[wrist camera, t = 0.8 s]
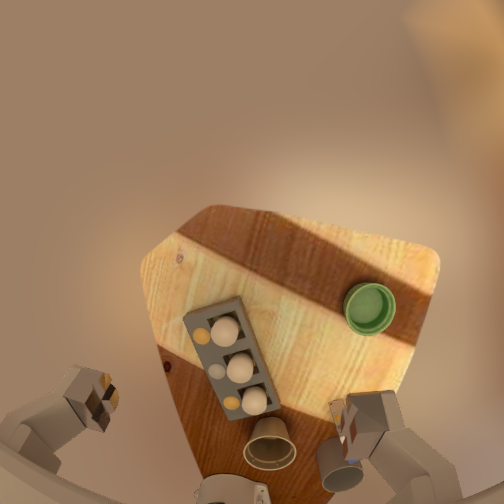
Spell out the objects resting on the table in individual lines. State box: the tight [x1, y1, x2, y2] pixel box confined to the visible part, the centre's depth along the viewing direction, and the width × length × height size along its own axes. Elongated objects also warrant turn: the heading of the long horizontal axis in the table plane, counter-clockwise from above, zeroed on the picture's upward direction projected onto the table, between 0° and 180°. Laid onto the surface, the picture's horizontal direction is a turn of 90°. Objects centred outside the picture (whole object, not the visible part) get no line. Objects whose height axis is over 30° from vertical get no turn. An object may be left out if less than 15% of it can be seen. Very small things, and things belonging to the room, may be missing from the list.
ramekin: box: [343, 282, 396, 336], centre depth 48 cm, size 9×9×4 cm
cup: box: [316, 437, 365, 492], centre depth 48 cm, size 8×8×10 cm
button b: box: [227, 353, 254, 383], centre depth 48 cm, size 4×4×3 cm
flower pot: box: [243, 417, 296, 470], centre depth 48 cm, size 9×9×9 cm
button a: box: [242, 386, 267, 415], centre depth 48 cm, size 4×4×3 cm
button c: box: [211, 316, 239, 347], centre depth 47 cm, size 4×4×3 cm
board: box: [183, 296, 281, 421], centre depth 50 cm, size 22×10×3 cm, turn 20°
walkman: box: [329, 399, 362, 464], centre depth 46 cm, size 8×3×12 cm, turn 22°
